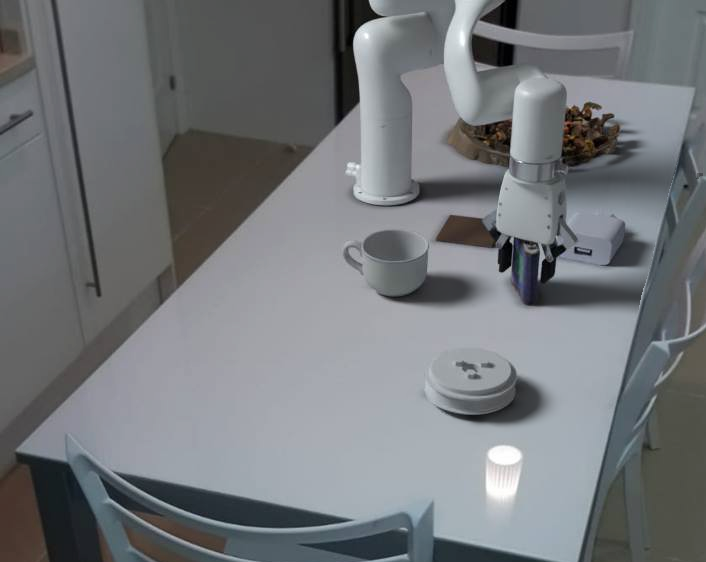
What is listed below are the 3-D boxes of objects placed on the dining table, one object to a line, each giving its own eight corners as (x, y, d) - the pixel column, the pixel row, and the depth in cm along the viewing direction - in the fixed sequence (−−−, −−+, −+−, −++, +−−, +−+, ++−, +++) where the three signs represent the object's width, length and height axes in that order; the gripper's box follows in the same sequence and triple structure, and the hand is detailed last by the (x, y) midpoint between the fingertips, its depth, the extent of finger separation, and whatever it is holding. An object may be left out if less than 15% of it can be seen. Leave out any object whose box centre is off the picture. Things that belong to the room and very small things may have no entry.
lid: (450, 429, 146) (451, 398, 142) (409, 383, 155) (409, 352, 152) (532, 406, 149) (535, 375, 146) (487, 362, 159) (489, 332, 156)
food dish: (640, 135, 231) (646, 98, 226) (577, 192, 210) (583, 153, 205) (492, 102, 245) (495, 67, 240) (419, 153, 224) (421, 115, 219)
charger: (631, 231, 192) (608, 266, 182) (580, 222, 196) (555, 256, 185) (635, 205, 189) (612, 240, 179) (583, 197, 193) (558, 230, 182)
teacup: (437, 279, 179) (439, 234, 174) (412, 309, 172) (413, 263, 167) (361, 265, 184) (360, 220, 179) (333, 293, 176) (331, 247, 171)
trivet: (435, 240, 191) (435, 237, 190) (450, 217, 198) (450, 214, 198) (491, 247, 188) (491, 244, 188) (504, 224, 196) (504, 220, 195)
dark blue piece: (508, 279, 179) (512, 218, 172) (525, 277, 179) (531, 216, 173) (522, 306, 172) (528, 243, 165) (540, 304, 172) (547, 242, 165)
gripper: (598, 169, 161) (585, 278, 172) (494, 147, 169) (488, 253, 180) (577, 187, 156) (565, 298, 167) (471, 163, 164) (466, 271, 175)
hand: (525, 273), depth 173 cm, fingers open, 6 cm apart
